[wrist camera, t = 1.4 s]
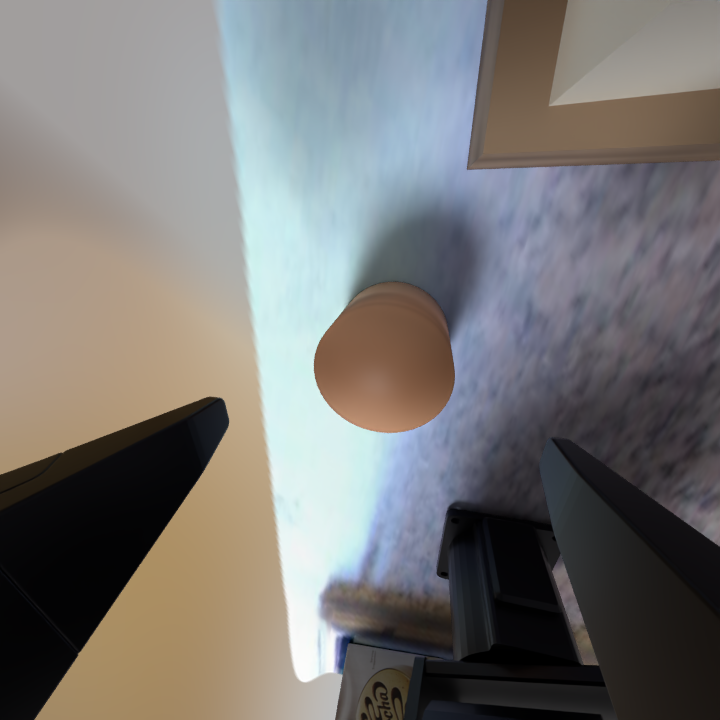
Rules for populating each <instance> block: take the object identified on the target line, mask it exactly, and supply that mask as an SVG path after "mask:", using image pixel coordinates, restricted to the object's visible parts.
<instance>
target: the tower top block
mask: <svg viewBox="0 0 720 720" xmlns="http://www.w3.org/2000/svg"><path fill="white" fill-rule="evenodd" d="M718 88H720V0H568V3H567V8H566V14H565V19H564V25H563V30H562V36H561V41H560V46H559V52H558V57H557V63H556V68H555V74H554V79H553V85H552V90H551V95H550V101H549V106H556V105H565V104H575V103H584V102H594V101H603V100H613V99H622V98H632V97H642V96H651V95H661V94H670V93H680V92H689V91H699V90H708V89H718Z"/></svg>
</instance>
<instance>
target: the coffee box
mask: <svg viewBox="0 0 720 720" xmlns="http://www.w3.org/2000/svg"><path fill="white" fill-rule="evenodd" d="M415 657H426V658H427V659H428V660H444V659H441V658H435V657H429V656H423V655H417V654H411V653H405V652H398V651H392V650H387V649H381V648H375V647H369V646H364V645H358V644H352V643H349V644H348V648H347V654H346V659H345V665H344V671H343V677H342V682H341V689H340V694H339V700H338V706H337V712H336V718H335V720H403V719H404V713H405V707H406V701H407V695H408V689H409V683H410V678H411V676H412V670H413V664H414V658H415Z"/></svg>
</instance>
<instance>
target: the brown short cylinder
mask: <svg viewBox="0 0 720 720" xmlns="http://www.w3.org/2000/svg"><path fill="white" fill-rule="evenodd" d="M314 373H315V379H316V382H317V386H318V388H319V390H320V392H321V394H322V396H323V398H324V399H325V401H326V402H327V403H328V404H329V406H330V407H331V408H332V409H333V410H334V411H335V412H336V413H337V414H339V415H340V416H341V417H342V418H344V419H345V420H347V421H348V422H350V423H352V424H354V425H356V426H359V427H361V428H364V429H367V430H371V431H376V432H384V433H397V432H404V431H408V430H412V429H415V428H417V427H420V426H422V425H424V424H426V423H428V422H429V421H430V420H432V419H433V418H435V417H436V416H437V415H438V414H439V413H440V412H441V411H442V409H443V408H444V407H445V406H446V404H447V402H448V401H449V399H450V396H451V394H452V391H453V387H454V380H455V371H454V362H453V356H452V350H451V344H450V337H449V331H448V325H447V321H446V318H445V315H444V312H443V311H442V309H441V307H440V306H439V304H438V303H437V302H436V300H435V299H434V298H433V297H432V296H431V295H429V294H428V293H427V292H425V291H424V290H422V289H420V288H418V287H416V286H414V285H411V284H407V283H403V282H384V283H379V284H376V285H373V286H370V287H368V288H366V289H365V290H363V291H361V292H360V293H359V294H358V295H357V296H355V298H354V299H353V300H352V301H351V302H350V303H349V304H348V306H347V307H346V308H345V309H344V311H343V312H342V313H341V314H340V315H339V317H338V318H337V319H336V320H335V322H334V323H333V324H332V325H331V326H330V328H329V329H328V330H327V331H326V332H325V334H324V335H323V337H322V338H321V340H320V342H319V344H318V347H317V350H316V353H315V359H314Z"/></svg>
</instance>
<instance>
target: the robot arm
mask: <svg viewBox="0 0 720 720" xmlns="http://www.w3.org/2000/svg"><path fill="white" fill-rule="evenodd" d="M228 426H229V418H228V414H227V409H226V405H225V402H224V400H223V399H222V398H217V397H206V398H204V399H201V400H199V401H196V402H193V403H191V404H188V405H185V406H183V407H180V408H177V409H175V410H172V411H169V412H167V413H164V414H162V415H159V416H156V417H154V418H151V419H148V420H146V421H143V422H140V423H138V424H135V425H133V426H130V427H127V428H125V429H122V430H119V431H117V432H114V433H112V434H109V435H106V436H103V437H101V438H98V439H96V440H93V441H90V442H88V443H85V444H83V445H80V446H77V447H75V448H72V449H69V450H67V451H65V452H64V453H58V454H56V455H53V456H50V457H48V458H45V459H43V460H40V461H37V462H34V463H32V464H29V465H26V466H23V467H21V468H18V469H15V470H13V471H10V472H7V473H4V474H1V475H0V720H34V719H35V718H36V717H37V715H38V713H39V712H40V711H41V709H42V708H43V706H44V705H45V703H46V702H47V700H48V699H49V698H50V696H51V695H52V693H53V692H54V690H55V689H56V687H57V686H58V684H59V683H60V681H61V680H62V678H63V677H64V676H65V674H66V673H67V671H68V670H69V668H70V667H71V665H72V664H73V662H74V661H75V659H76V658H77V656H78V653H79V652H80V651H81V650H82V649H83V647H84V646H85V644H86V643H87V641H88V640H89V639H90V637H91V636H92V634H93V633H94V631H95V630H96V628H97V627H98V625H99V624H100V622H101V621H102V620H103V618H104V617H105V615H106V614H107V612H108V611H109V609H110V608H111V606H112V605H113V603H114V602H115V600H116V599H117V597H118V596H119V594H120V593H121V592H122V590H123V589H124V587H125V586H126V584H127V583H128V582H129V580H130V578H131V577H132V576H133V574H134V573H135V571H136V570H137V568H138V567H139V565H140V564H141V563H142V561H143V559H144V558H145V557H146V555H147V554H148V552H149V551H150V549H151V548H152V546H153V545H154V544H155V542H156V541H157V539H158V537H159V536H160V535H161V533H162V532H163V530H164V529H165V527H166V526H167V524H168V523H169V522H170V520H171V519H172V517H173V516H174V514H175V513H176V511H177V510H178V508H179V507H180V505H181V504H182V503H183V501H184V500H185V498H186V497H187V495H188V494H189V492H190V491H191V489H192V488H193V486H194V485H195V484H196V482H197V481H198V479H199V478H200V476H201V475H202V473H203V471H204V470H205V468H206V466H207V465H208V463H209V461H210V459H211V457H212V456H213V454H214V452H215V450H216V448H217V447H218V445H219V443H220V441H221V439H222V438H223V436H224V434H225V432H226V430H227V428H228ZM539 469H540V475H541V479H542V484H543V488H544V493H545V497H546V502H547V506H548V511H549V515H550V520H551V524H552V525H548V524H541V523H535V522H529V521H523V520H517V519H511V518H505V517H499V516H493V515H487V514H481V513H475V512H469V511H463V510H457V509H451V510H449V511H447V513H446V518H445V523H444V529H443V534H442V540H441V545H440V550H439V556H438V561H437V575H438V576H439V577H441V578H444V579H449V588H450V606H451V624H452V642H453V660H428V659H427V658H426V657H415V658H414V664H413V670H412V676H411V678H410V683H409V689H408V695H407V701H406V707H405V713H404V719H403V720H720V547H719V546H718V545H717V544H715V543H714V542H712V541H711V540H710V539H708V538H707V537H705V536H704V535H703V534H701V533H700V532H698V531H697V530H695V529H694V528H693V527H691V526H690V525H688V524H687V523H686V522H684V521H683V520H681V519H680V518H679V517H677V516H676V515H674V514H673V513H672V512H670V511H669V510H667V509H666V508H665V507H663V506H662V505H660V504H659V503H658V502H656V501H655V500H653V499H652V498H651V497H649V496H648V495H646V494H645V493H644V492H642V491H641V490H639V489H638V488H637V487H635V486H634V485H632V484H631V483H630V482H628V481H627V480H625V479H624V478H623V477H621V476H620V475H618V474H617V473H616V472H614V471H613V470H611V469H610V468H609V467H607V466H606V465H604V464H603V463H602V462H600V461H599V460H597V459H596V458H594V457H593V456H592V455H590V454H589V453H587V452H586V451H585V450H583V449H582V448H580V447H579V446H578V445H576V444H575V443H573V442H572V441H571V440H569V439H564V438H555V437H551V438H549V439H548V440H547V443H546V445H545V448H544V451H543V454H542V457H541V460H540V464H539ZM560 554H561V556H562V559H563V561H564V564H565V567H566V570H567V573H568V576H569V579H570V582H571V585H572V588H573V591H574V594H575V596H576V599H577V602H578V605H579V608H580V611H581V614H582V617H583V620H584V623H585V626H586V629H587V632H588V634H589V637H590V640H591V643H592V646H593V649H594V652H595V655H596V658H597V661H598V664H599V666H597V665H584V664H583V661H582V658H581V655H580V652H579V649H578V646H577V643H576V641H575V638H574V635H573V632H572V629H571V626H570V623H569V620H568V617H567V614H566V611H565V608H564V605H563V602H562V599H561V596H560V593H559V590H558V588H557V585H556V582H555V579H554V576H553V573H552V570H553V568H554V566H555V564H556V562H557V560H558V558H559V556H560Z"/></svg>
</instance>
